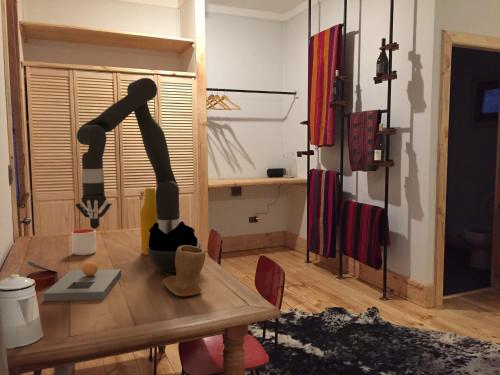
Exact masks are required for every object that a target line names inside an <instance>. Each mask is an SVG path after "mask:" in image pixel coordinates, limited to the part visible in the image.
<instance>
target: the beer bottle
mask: <svg viewBox="0 0 500 375" xmlns="http://www.w3.org/2000/svg"><path fill="white" fill-rule="evenodd" d="M143 200H144V202H143V205H142V207H141V209H140V214H139V216H140V218H139V219H140V241H141V243H140V246H141V248H140V251H141V254H142V255H144V256H148V252H147V246H148V245H149V236H150V232H149V230H150V228H151V227H152V226H153V224H154V223H156V222H157V211H156V188H155V187H146V188H145V190H144V199H143Z"/></svg>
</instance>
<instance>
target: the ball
mask: <svg viewBox="0 0 500 375" xmlns="http://www.w3.org/2000/svg"><path fill="white" fill-rule="evenodd" d="M81 269H82V271H83V273H84V274H85V275H87V276H92V275H94V274H95V273H96V272H97V270H99V269H98V264H97V263H95V262H94V261H86V262H85V263H84V264H83V266H82V268H81Z"/></svg>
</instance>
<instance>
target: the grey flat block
mask: <svg viewBox="0 0 500 375" xmlns="http://www.w3.org/2000/svg"><path fill="white" fill-rule="evenodd" d="M121 277H122V269H121V268H119V269H117V268H115V269H113V268H112V269H97V272H96V273H95V274H94V275H92V276H87V275H85V274H84V273H83V271H82V270H81V269H80V270H78V269H77V270H70V271H68V272H67V273H66V274H65V275H64V276H62V277H61V278H60V279H58V282H56V283H55V284H52V286H50V287H49V289H47V290H46V291H45V292H44V293H43V301H44V302H64V301H67V302H68V301H69V302H70V301H99V300H100V301H101V300H103V301H104V300H105V299H106V297H107V296H108V295H109V293H110V292H111V290H112V289H113V288H114V286H115V285H116V284H117V282H118V281H119V279H120V278H121Z"/></svg>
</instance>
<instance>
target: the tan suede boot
mask: <svg viewBox="0 0 500 375" xmlns="http://www.w3.org/2000/svg"><path fill="white" fill-rule="evenodd" d="M205 262H206V252H205V249H203V248H201V247H200V248H198V247H194V246H189V245H183V246H180V247H178V248H177V250H176V256H175V267H176V272H175V274H176V275H170V276H168V277H165V278H164V279H163V280H162V284H163V285H164V286H165V287H166V288H167V289H168V290H169V291H170V292H171V293H172V294H174V295H175V296H178V297H188V296H189V297H190V296H195V295H198V294H200V293H202V291H203V290H202V287H201V286H200V284H199V282H198V281H199V277H200V276H201V275H200V274H201V273H202V270H203V268H204V265H205Z"/></svg>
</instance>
